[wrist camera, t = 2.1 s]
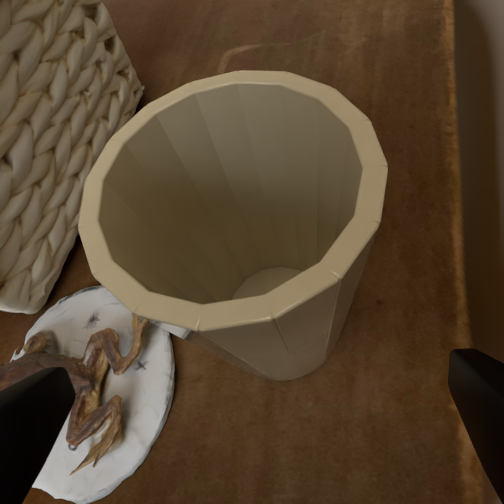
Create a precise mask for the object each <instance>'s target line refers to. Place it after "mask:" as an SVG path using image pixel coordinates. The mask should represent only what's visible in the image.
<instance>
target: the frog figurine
mask: <svg viewBox="0 0 504 504" xmlns="http://www.w3.org/2000/svg"><path fill="white" fill-rule="evenodd" d="M18 347H19V346H18ZM16 350H17V349H16ZM16 350H15V352H14V355H13V357H12V359H11V360H13V359H14V360H15V361H13V362H11V361H10V362H8V363H3V364H0V391H1V390H3V389H5V388H7V387H9V386H11V385H13V384H15V383H17V382H19V381H21V380H23V379H25V378H27V377H29V376H30V375H32V374H34V373H36V372H38V371H40V370H42V369H44V368H47V367H57V366H61V367H64V368H65V369H67V371H68V374H69V376H70V379H71V381H72V384H73V386H74V389H75V392H76V399H75V403H74V405H73V407H72V409H71V411H70V413H69V415H68V417H67V419H66V421H65V423H64V426H63V428H62V430H61V432H60V434H59V436H58V438H57V440H56V442H55V444H54V446H53V448H52V450H51V452H50V455H49V456H48V458H47V460H46V462H45V464H44V466H43V468H42V470H41V472H40V473H39V475H38V477H37V479H36V480H35V482H34V484H33V486H32V487H33V488H39V489H42V490H44V491H46V492H48V493H49V494H50V495H52V496H53V497H54V498H55V499H59V498H62V499H65V500H68V501H72V502H75V503H76V504H89V503H91V502H94V501H96V500H98V499H101V498H103V497H105V496H106V495H108V494H110V493H111V492H112V491H113V490H114V489H115V488H116V487H117V486H118V485H119V484H121V482H122V481H123V480H124V479H126V478H127V477H128V476H131V475H132V474H133V473H135V470H136V469H137V468H138V467H139V466H140V465H141V464H142V463H143V462H144V459H145V458H146V457H147V455H148V454H149V452H150V449H151V446H152V445H153V443H154V442H155V441H156V439H157V437H158V436H159V434H160V432H161V431H162V429H163V426H164V424H165V422H166V420H167V417H168V413H169V410H170V407H171V403H172V399H173V393H174V387H175V381H174V371H175V362H174V353H173V347H172V342H171V338H170V334H169V332H168V331H167V330H165V329H163V328H161V327H159V326H157V325H155V324H153V323H151V322H149V321H147V320H145V319H143V318H141V317H139V316H137V315H135V314H133V313H132V312H131V311H130V310H129V309H128V308H126V307H125V306H124V305H123V304H122V303H121V302H120V301H119V300H118V299H117V298H116V297H115V296H114V295H113V294H111V293H110V292H109V291H108V290H107V289H106V288H105V287H104V286H103V285H99V286H91V287H87V288H85V289H82V290H79V291H77V292H76V293H74V294H72V295H70V296H67V297H64V298H62V299H60V300H59V301H58V302H57V303H56V304H55V305H54V306H52V307H51V308H49V309H48V310H47V311H46V312H45V314H43V315H42V316H41V317H40V318H39V319H38V320H37V321H36V323H35V325H34V326H33V327H32V328H31V329H30V330H29V331H28V333H27V335H26V339H25V345H24V346H23V348H22V350H21V351H20V354H19V355H17V354H16Z"/></svg>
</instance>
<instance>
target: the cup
mask: <svg viewBox="0 0 504 504" xmlns="http://www.w3.org/2000/svg"><path fill="white" fill-rule="evenodd" d="M387 176H388V164H387V162H386V159H385V157H384V154H383V152H382V149H381V146H380V144H379V141H378V139H377V136H376V134H375V131H374V128H373V126H372V123H371V121H370V120H369V118H368V117H367V116H366V115H365V114H363V113H362V112H361V111H360V110H359V109H358V108H357V107H355V106H354V105H353V104H352V103H351V102H350V101H349V100H347V99H346V98H345V97H344V96H343V95H342V94H341V93H339V92H338V91H337V90H336V89H334V88H332V87H331V86H328V85H325V84H322V83H320V82H317V81H314V80H311V79H308V78H305V77H302V76H299V75H296V74H294V73H291V72H288V73H287V72H286V71H256V70H239V71H233V72H229V73H225V74H221V75H216V76H212V77H208V78H204V79H200V80H196V81H192V82H191V83H190V82H189V83H187V84H185V85H183V86H181V87H179V88H177V89H175V90H173V91H171V92H170V93H168V94H166V95H164V96H162V97H160V98H158V99H156V100H154V101H152V102H151V103H149V104H147V106H144V107H143V108H142V109H141V110H140V111H139V112H138V113H137V114H136V115H135V116H134V117H133V118H131V119H130V120H129V121H128V122H127V123H126V124H125V125H124V126H123V127H122V128H121V129H119V130H118V131H117V132H116V133H115V134H114V135H113V136H112V137H111V139H109V140H108V142H107V144H106V146H105V147H104V149H103V151H102V152H101V154H100V156H99V157H98V159H97V161H96V163H95V164H94V166H93V168H92V169H91V171H90V173H89V175H88V176H87V178H86V181H85V184H84V190H83V197H82V203H81V209H80V215H79V221H78V231H79V234H80V237H81V241H82V244H83V247H84V250H85V253H86V256H87V260H88V263H89V266H90V269H91V272H92V274H93V276H94V278H95V279H96V280H98V281H99V282H100V283H101V284H102V285H103V286H104V287H105V288H106V289H107V290H108V291H109V292H110V293H111V294H113V295H114V296H115V297H116V298H117V299H118V300H119V301H120V302H121V303H122V304H123V305H124V306H125V307H126V308H128V309H129V310H130V311H131V312H132V313H133V314H135V315H137V316H139V317H141V318H143V319H145V320H147V321H149V322H151V323H153V324H155V325H157V326H159V327H161V328H163V329H165V330H167V331H169V332H170V333H172V334H174V335H176V336H178V337H180V338H182V339H184V340H186V341H188V342H190V343H192V344H194V345H196V346H198V347H200V348H202V349H204V350H206V351H208V352H210V353H212V354H214V355H216V356H217V357H219V358H221V359H223V360H225V361H227V362H229V363H231V364H233V365H235V366H237V367H239V368H241V369H243V370H245V371H247V372H249V373H251V374H254V375H257V376H260V377H263V378H266V379H270V380H275V381H278V380H280V381H281V380H291V379H296V378H300V377H303V376H305V375H307V374H309V373H311V372H312V371H314V370H315V369H317V368H318V367H319V366H320V365H322V364H323V363H324V362H325V360H326V359H327V358H328V357H329V355H330V354H331V352H332V350H333V349H334V347H335V346H336V344H337V342H338V340H339V337H340V334H341V331H342V328H343V326H344V323H345V320H346V317H347V315H348V312H349V309H350V306H351V303H352V301H353V298H354V295H355V292H356V290H357V287H358V284H359V281H360V278H361V276H362V273H363V270H364V267H365V265H366V262H367V259H368V256H369V253H370V251H371V248H372V245H373V242H374V240H375V237H376V234H377V231H378V228H379V226H380V223H381V217H382V210H383V204H384V197H385V190H386V183H387Z"/></svg>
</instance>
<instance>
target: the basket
mask: <svg viewBox="0 0 504 504" xmlns="http://www.w3.org/2000/svg"><path fill="white" fill-rule="evenodd" d="M143 90H144V86H141V84H140V81H139V79H138V78H137V74H136V71H135V69H134V68H133V66H132V65H131V61H130V59H129V57H128V55H127V53H126V52H125V47H124V45H123V43H122V41H121V40H120V38H119V37H118V36H117V34H116V30H115V28H114V26H113V21H112V19H111V17H110V15H109V12H108V10H107V8H106V7H105V5H104V4H103V3H102V2H101V0H0V310H2V311H6V312H14V313H25V314H34V313H37V312H38V311H39V310H40V309H42V307H43V306H44V304H45V303H46V301H47V298H48V296H49V294H50V292H51V291H52V289H53V287H54V284H55V282H56V281H57V280H58V278H59V276H60V273H61V270H62V267H63V265H64V263H65V260H66V258H67V256H68V254H69V252H70V250H71V249H72V248H73V246H74V244H75V239H76V236H77V234H78V232H79V231H78V221H79V215H80V209H81V203H82V197H83V190H84V184H85V181H86V178H87V176H88V175H89V173H90V171H91V169H92V168H93V166H94V164H95V163H96V161H97V159H98V157H99V156H100V154H101V152H102V151H103V149H104V147H105V146H106V144H107V142H108V140H109V139H111V137H112V136H113V135H114V134H115V133H116V132H117V131H118V130H119V129H121V128H122V127H123V126H124V125H125V124H126V123H127V122H128V121H129V120H130V119H131V118H132V116H133V115H134V114H135V111H136V107H137V105H138V103H139V101H140V98H141V96H142V95H143V93H142V91H143Z"/></svg>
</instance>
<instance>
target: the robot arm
mask: <svg viewBox="0 0 504 504" xmlns="http://www.w3.org/2000/svg"><path fill="white" fill-rule="evenodd" d="M448 385H449V390H450V393H451V395H452V398H453V400H454V402H455V404H456V407H457V409H458V411H459V414H460V416H461V418H462V421H463V423H464V425H465V428H466V430H467V432H468V435H469V437H470V439H471V441H472V444H473V446H474V448H475V451H476V453H477V455H478V457H479V460H480V462H481V464H482V466H483V468H484V470H485V472H486V474H487V476H488V478H489V480H490V482H491V484H492V485H493V487H494V489H495V491H496V492H497V495H498V496H499V498H500V500H501V502H502V504H504V363H502V362H500V361H498V360H496V359H494V358H492V357H490V356H488V355H486V354H484V353H482V352H480V351H478V350H476V349H473V348H467V349H454V350H452V351H451V354H450V362H449V375H448ZM75 399H76V392H75V389H74V386H73V384H72V381H71V379H70V376H69V374H68V371H67V369H65V368H64V367H61V366H57V367H47V368H44V369H42V370H40V371H38V372H36V373H34V374H32V375H30V376H29V377H27V378H25V379H23V380H21V381H19V382H17V383H15V384H13V385H11V386H9V387H7V388H5V389H3V390H1V391H0V504H22V503H23V501H24V499H25V498H26V496H27V494H28V493H29V491H30V489H31V487H32V486H33V484H34V482H35V480H36V479H37V477H38V475H39V473H40V472H41V470H42V468H43V466H44V464H45V462H46V460H47V458H48V456H49V455H50V452H51V450H52V448H53V446H54V444H55V442H56V440H57V438H58V436H59V434H60V432H61V430H62V428H63V426H64V423H65V421H66V419H67V417H68V415H69V413H70V411H71V409H72V407H73V405H74V403H75Z"/></svg>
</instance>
